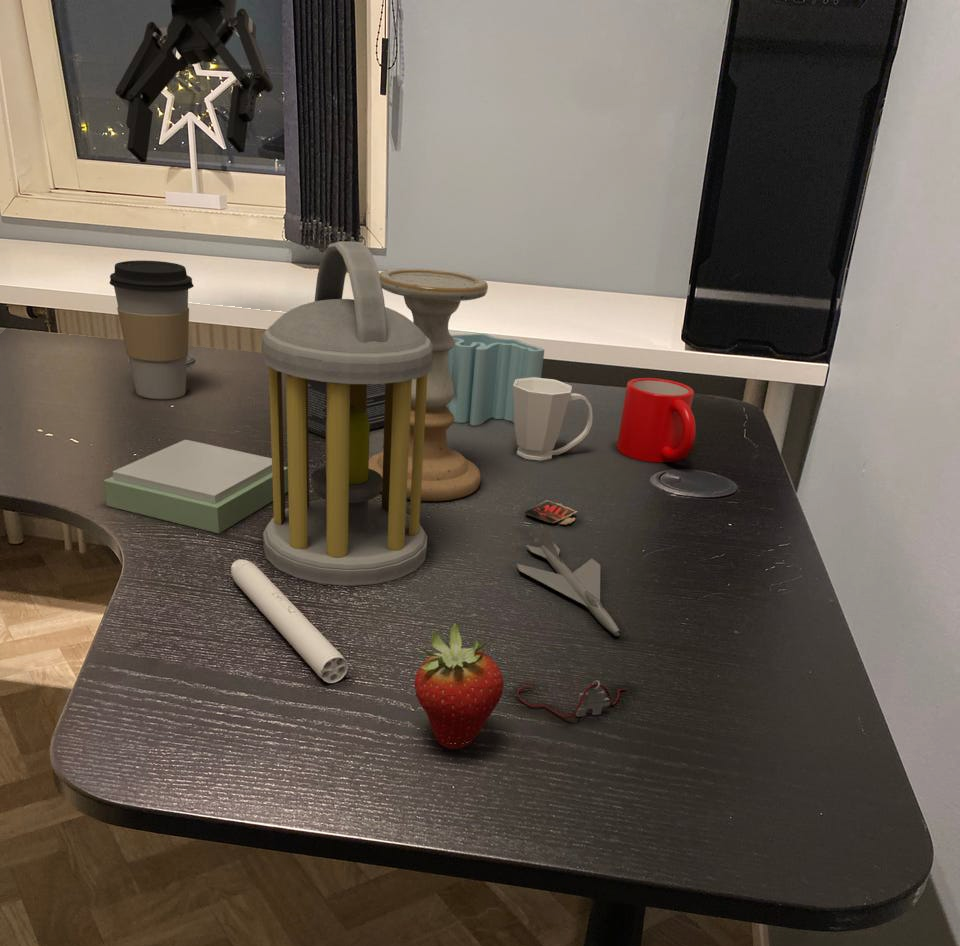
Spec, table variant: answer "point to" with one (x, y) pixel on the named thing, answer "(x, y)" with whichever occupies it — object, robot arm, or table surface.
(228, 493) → the scale
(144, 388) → the coffee cup
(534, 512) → the matchbox
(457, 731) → the fruit
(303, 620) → the white cylindrical rod
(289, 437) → the lantern
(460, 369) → the squiggly pen holder
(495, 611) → the table surface
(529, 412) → the cup
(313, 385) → the small box
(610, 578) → the table surface
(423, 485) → the candle holder
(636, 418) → the mug
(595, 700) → the pendant
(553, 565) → the toy airplane
